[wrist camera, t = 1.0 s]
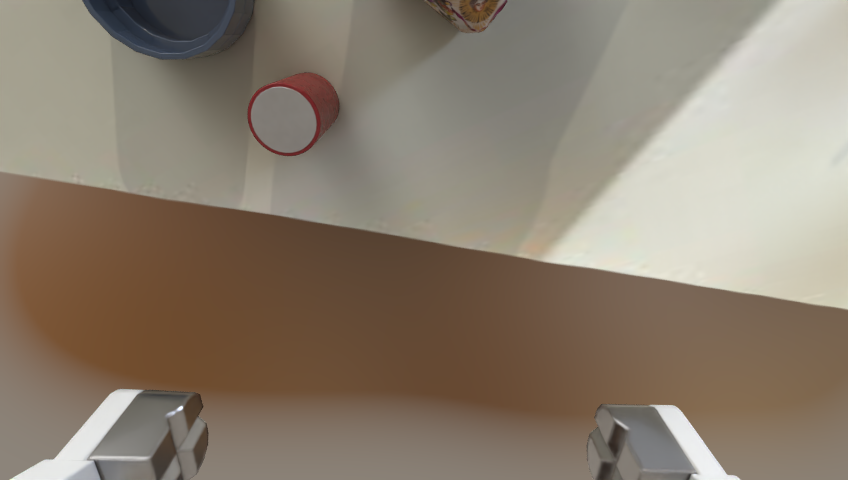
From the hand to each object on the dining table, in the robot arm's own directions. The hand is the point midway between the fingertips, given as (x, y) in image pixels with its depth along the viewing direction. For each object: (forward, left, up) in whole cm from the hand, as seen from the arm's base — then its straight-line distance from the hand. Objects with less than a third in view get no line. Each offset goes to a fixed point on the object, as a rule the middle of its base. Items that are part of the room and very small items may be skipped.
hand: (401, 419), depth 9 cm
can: (+5, -9, -39) cm, 40 cm away
